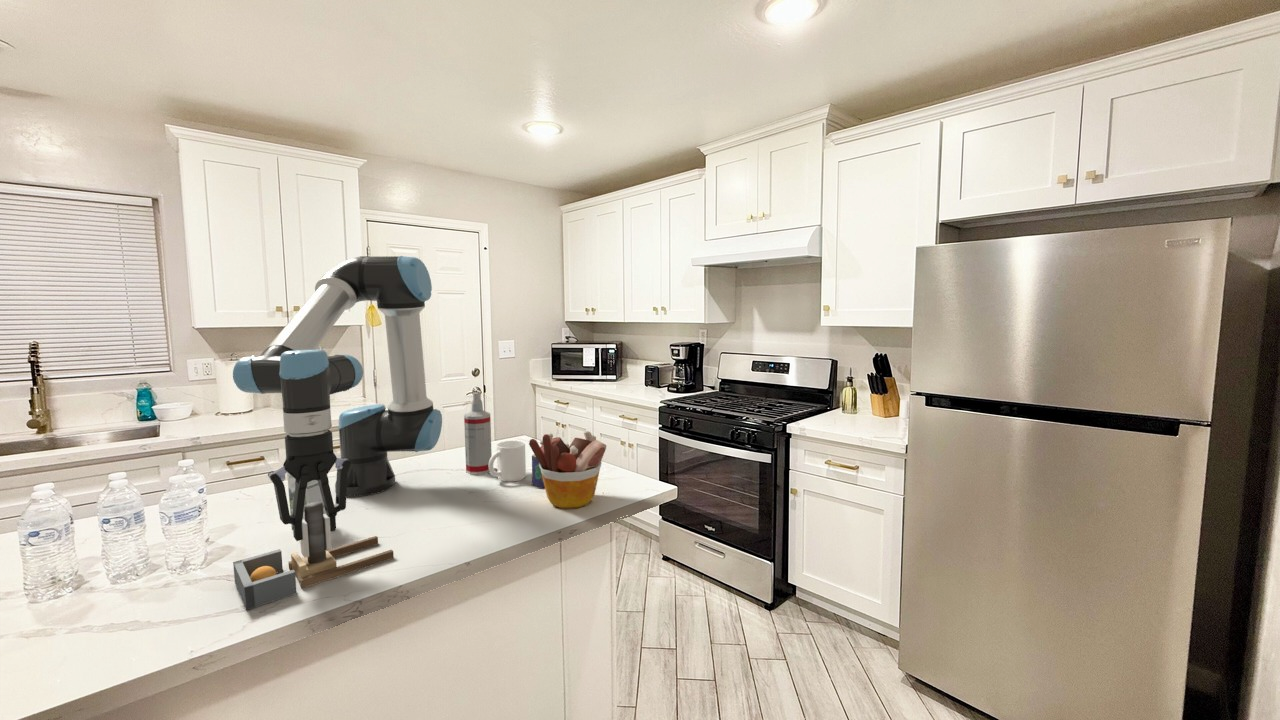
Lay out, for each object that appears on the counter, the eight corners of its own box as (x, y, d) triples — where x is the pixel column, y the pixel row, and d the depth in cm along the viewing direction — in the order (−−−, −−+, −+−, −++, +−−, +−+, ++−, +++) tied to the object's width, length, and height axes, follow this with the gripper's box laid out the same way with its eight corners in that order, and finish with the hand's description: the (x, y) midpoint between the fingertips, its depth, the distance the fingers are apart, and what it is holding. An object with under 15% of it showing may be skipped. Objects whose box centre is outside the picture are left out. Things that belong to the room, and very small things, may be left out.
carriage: (292, 569, 99) (287, 504, 97) (327, 559, 103) (323, 496, 101) (300, 583, 94) (296, 515, 92) (337, 571, 98) (333, 506, 97)
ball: (242, 573, 92) (267, 558, 94) (255, 589, 93) (278, 574, 96) (246, 581, 89) (271, 565, 91) (259, 598, 90) (283, 582, 93)
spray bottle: (461, 474, 157) (458, 394, 154) (473, 466, 164) (470, 390, 162) (485, 475, 156) (482, 394, 153) (496, 468, 163) (493, 390, 160)
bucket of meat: (572, 485, 147) (571, 417, 145) (617, 497, 138) (617, 424, 136) (519, 507, 131) (517, 430, 129) (566, 522, 121) (564, 440, 119)
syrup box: (331, 524, 120) (328, 464, 119) (308, 534, 115) (304, 472, 113) (314, 521, 122) (310, 462, 121) (290, 531, 117) (285, 469, 115)
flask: (560, 488, 144) (560, 451, 143) (554, 491, 142) (553, 454, 141) (535, 483, 149) (534, 447, 148) (529, 486, 146) (528, 449, 145)
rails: (289, 569, 99) (288, 561, 99) (376, 542, 111) (376, 535, 111) (301, 588, 92) (301, 580, 92) (393, 558, 104) (393, 551, 104)
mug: (497, 487, 145) (496, 452, 144) (481, 481, 151) (480, 447, 150) (531, 477, 154) (530, 443, 153) (515, 471, 160) (514, 439, 159)
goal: (234, 582, 94) (233, 562, 94) (281, 568, 100) (280, 549, 99) (246, 610, 86) (244, 587, 85) (296, 593, 91) (295, 571, 90)
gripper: (259, 443, 88) (269, 573, 90) (361, 428, 99) (368, 544, 101) (252, 436, 93) (261, 559, 95) (349, 422, 104) (356, 532, 107)
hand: (316, 551), depth 98 cm, fingers closed on carriage, 3 cm apart
